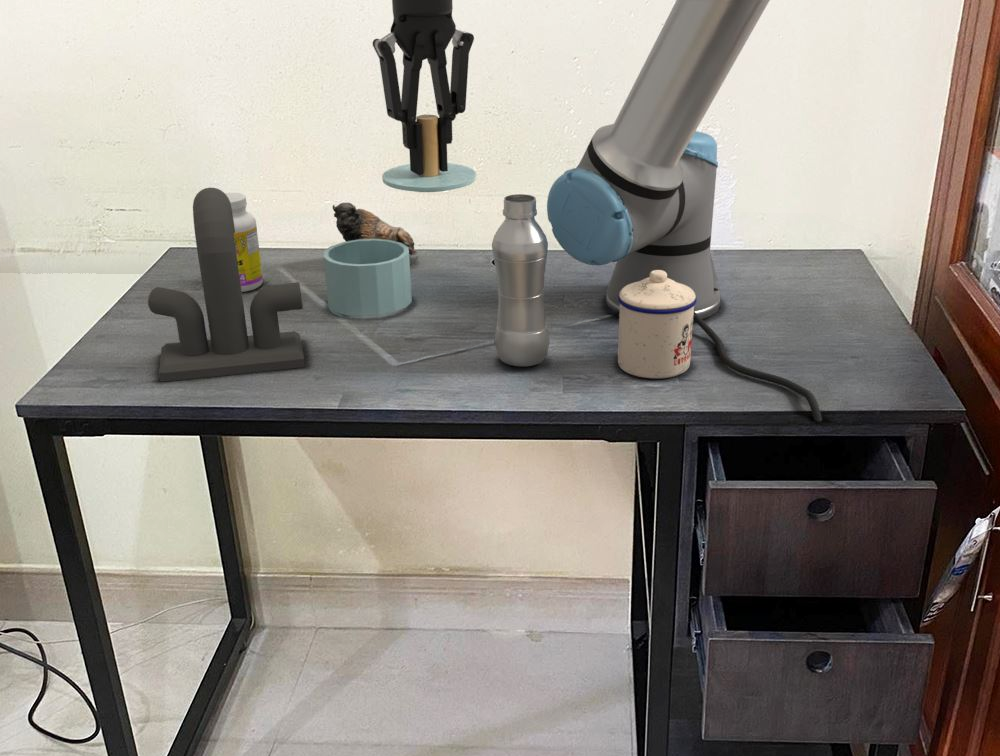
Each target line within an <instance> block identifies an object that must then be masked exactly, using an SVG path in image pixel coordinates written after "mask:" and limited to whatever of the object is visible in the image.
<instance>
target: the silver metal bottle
mask: <svg viewBox="0 0 1000 756" xmlns="http://www.w3.org/2000/svg"><path fill="white" fill-rule="evenodd" d="M502 215H503V217H504V220H503V221H502V222H501V224H500V225H499V227H497V229H496V231H495V233H494V235H493V239H492V241H491V251H492V257H493V264H494V268H495V273H496V283H497V284H496V285H497V289H498V290H497V293H498V294H497V297H498V302H497V303H498V304H497V321H496V322H497V323H496V328H495V333H494V347H495V353H496V355H497V357H498V358H499V360H500V361H501V362H502V363H504V364H506V365H509V366H513V367H514V366H515V367H531V366H536V365H539V364H541V363H543V361H544V360H545V359H546V357H547V356H548V354H549V349H550V336H549V330H548V326H547V322H546V311H545V301H544V295H545V290H544V288H545V274H546V267H547V259H548V258H547V257H548V251H549V242H548V239H547V236H546V233H545V232H544V230H543V229H542V227H541V225H539V223H538V221H536V218H535V217H537V215H538V209H537V198H536V196H534V195H530V194H523V193H519V194H518V193H517V194H509V195H507V196H505V197H503V209H502Z"/></svg>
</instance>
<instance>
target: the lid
mask: <svg viewBox="0 0 1000 756" xmlns="http://www.w3.org/2000/svg"><path fill="white" fill-rule="evenodd" d="M438 118H439V116H438V115H435V114H419V115H416V122H418V123H420V124H422V145H423V169H424V174H423V175H417V174H416V173H414V172H412V171H410V163H407V164H403V165H398V166H395V167H391V168H389V169H387V170H385V171H384V172H383V173H382V175H381V178H382V179H381V180H382V182H383V184H384V185H385V186H387V187H390V188H392V189H396V190H400V191H406V192H414V193H415V192H416V193H440V192H446V191H451V190H457V189H461V188H465V187H467V186H470V185H472V184H473V183H475V181H476V180H477V172H476V171H475V170H474V169H473V168H471V167H469V166H466V165H463V164H458V163H451V162H447V165H448V171H444V172H442V171H440V170H439V142H438Z"/></svg>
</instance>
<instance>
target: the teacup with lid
mask: <svg viewBox="0 0 1000 756" xmlns="http://www.w3.org/2000/svg"><path fill="white" fill-rule="evenodd" d="M618 301H619V303H620V314H619V315H618V317H619V318H618V344H617V345H618V346H617V348H618V349H617V363H618V364H617V365H618V366H619V368H620V369H621V370H622V371H624V372H625V373H626V374H629V375H632V376H634V377H638V378H643V379H654V380H655V379H659V380H660V379H668V378H675V377H677V376H680V375H682V374H684V373H685V372H686V371H688V369H689V368H690V365H691V356H692V340H693V327H694V326H693V325H694V322H693V314H694V305H695V304H696V301H697V299H696V295H695V293H694V291H693V290H692V289H691V288H690V287H688V286H686V285H684V284H681V283H677V282H675V281H673V280H671V279H669V278H667V273H666V272H665V271H663V270H654V271H652V272H651V273H650V277H649V278H646V279H643V280H641V281H638V282H634V283H631V284H629V285H627V286H625V287H624V288H623V289H622V290H621V291H620V293H619V296H618Z"/></svg>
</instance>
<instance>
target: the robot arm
mask: <svg viewBox="0 0 1000 756" xmlns="http://www.w3.org/2000/svg"><path fill="white" fill-rule="evenodd" d="M770 1H771V0H675V2H674V4H673V6H672V8H671V10H670V12H669V14H668V16H667V18H666V20H665V21H664V24H663V26H662V28H661V30H660V31H659V33H658V36H657V37H656V40H655V41H654V44H653V46H652V48H651V49H650V52H649V53H648V55H647V57H646V59H645V62H644V64H643V65H642V67H641V69H640V71H639V73H638V76H637V77H636V79H635V81H634V83H633V85H632V87H631V89H630V91H629V92H628V95H627V97H626V99H625V101H624V103H623V105H622V107H621V109H620V110H619V112H618V115H617V117H616V118H615V121H614V123H612V124H611V123H610V124H607V125H604V126H601V127H598V129H596V130H595V132H594V134H593V135H592V137H591V139H590V141H589V143H588V145H587V147H586V149H585V150H584V151H585V152H584V153H583V155H582V157H581V160H580V162H579V163H578V165H577V166H576V167H575V168H571V169H567V170H566V171H564V173H563V174H561V175H560V176H558V178H556V180H555V181H554V182H553V183H552V185H551V187H550V189H549V191H548V195H547V200H546V201H547V202H546V215H547V220H548V222H549V223H550V225H551V232H552V234H553V236H554V238H555V239H556V241H557V243H558V244H559V246H560V247H561V248H562V249H563V250H564V252H565V253H566V254H568V255H569V256H570V257H572V258H573V259H575V260H576V261H578V262H580V263H582V264H585V265H589V266H604V265H607V264H610V263H615V265H614V269H613V272H612V275H611V278H610V281H609V282H608V284H607V288H606V294H605V295H606V297H605V302H606V305H607V306H608V308H610V309H611V310H613V311H614V314H616V315H617V316H619V314H620V303H619V301H618V296H619V293H620V291H621V290H622V289H623V288H624V287H625V286H627V285H629V284H631V283H634V282H638V281H641V280H643V279H646V278H649V277H650V273H651V272H652V271H654V270H663V271H665V272H666V273H667V278H669V279H671V280H673V281H675V282H677V283H681V284H684V285H686V286H688V287H690V288H691V289H692V290H693V291H694V293H695V295H696V299H697V301H696V304H695V305H694V314H693V323H694V322H695V323H696V324H697V325H698V326H699V327H700V329H702V331H703V332H704V333H706V335H707V336H708V337H709V338H710V339H711V340H712V342H713V343H714V345H715V347H716V349H717V353H718V356H719V359H720V360H721V361H722V363H724V364H725V366H727V367H728V368H730V369H731V370H733V371H735V372H737V373H738V374H739V373H740V374H742V375H745V376H747V377H750V378H754V379H758V380H763V381H766V382H770V383H773V384H777V385H780V386H782V387H785V388H787V389H789V390H791V391H793V392H794V393H797V394H798V395H800V396H802V397H803V398H805V399H806V401H807V403H808V405H809V406H808V407H809V409H810V411H811V414H812V418H813V421H815V422H822V421H823V416H822V413H821V410H820V407H819V404H818V401H817V399H816V397H815V396H814V394H813V393H812V392H811V391H810V390H809V389H807V388H806V387H803V386H801V385H800V384H797V383H796V382H794V381H792V380H790V379H787V378H785V377H782V376H780V375H779V376H778V375H776V374H772V373H768V372H764V371H760V370H756V369H752V368H750V367H746V366H744V365H741V364H739V363H738V362H736V361H734V360H732V359H731V358H730V357H729V356H728V354H727V353H726V349H725V345H724V343H723V341H722V340H721V338H720V336H719V335H718V334H717V333H716V331H714V330H713V329H712V328H711V327H710V326H709V325H708V324H707V322H706V321H705V319H706V318H709V317H712V316H713V315H715V314H716V313H717V312H718V311H719V310H720V306H721V289H720V285H719V281H718V276H717V273H716V268H715V264H714V261H713V257H712V252H711V243H712V242H711V241H712V232H713V231H712V229H713V218H714V207H715V194H716V192H715V191H716V182H717V181H716V180H717V169H718V168H719V162H718V143H717V140H716V139H715V138H714V136H712V135H710V134H708V133H705V132H702V131H698V130H697V129H698V128H699V126H700V124H701V123H702V121H703V119H704V118H705V116H706V114H707V112H708V110H709V108H710V107H711V105H712V103H713V101H714V100H715V98H716V96H717V94H718V92H719V91H720V89H721V87H722V85H723V84H724V82H725V80H726V78H727V76H728V75H729V73H730V72H731V70H732V68H733V66H734V64H735V62H736V61H737V59H738V57H739V55H740V54H741V52H742V50H743V48H744V46H745V45H746V43H747V42H748V40H749V38H750V37H751V34H752V33H753V31H754V29H755V27H756V25H757V24H758V22H759V21H760V18H761V17H762V15H763V13H764V11H765V9H766V8H767V6H768V5H769V3H770ZM391 6H392V16H393V20H392V24H391V26H390V32H389V33H388V34H386V35H384V36H383V37H381V38H375V39H373V41H372V48H373V49H374V52H375V53H376V55H377V57H378V60H379V65H380V66H379V67H380V74H381V81H382V87H383V95H384V101H385V108H386V109H385V110H386V114H387V116H388V117H389V118H391V119H393V120H395V121H397V122H400V123H401V131H402V145H403V146H404V148H405V149H408V151H409V164H410V171H412V172H414V173H416V174H417V175H423V174H424V169H423V145H422V124H420V123H418V122H416V117H417V111H418V100H419V90H420V89H419V87H420V76H421V69H422V68H423V61H425V60H427V63H428V65H429V69H430V75H431V76H430V77H431V81H432V87H433V94H434V101H435V107H436V111H437V112H436V113H437V116H438V142H439V170H440V171H442V172H444V171H448V165H447V163H448V145H450V144H452V142H453V121H455V120H456V117H457V115H458V114H463V113H465V111H466V109H467V88H468V74H469V57H470V51H471V49H472V46H473V44H474V41H475V36H474V34H473V33H472V32H471V33H470V32H467V31H465V30H461V29H460V28H457V24H456V23H455V21H454V18H453V9H454V8H453V0H391ZM450 42H451V43H452V44H451V45H452V46H453V47H452V53H451V56H452V57H451V72H450V85H449V75H448V71H447V64H448V60H447V54H446V50H447V48H448V46H449V45H450ZM396 44H397V46H398V47H399V49H400V50H401V51H402V65H403V71H402V85H401V86H402V87H401V92H400V83H399V77H398V69H397V62H396V58H395V55H394V54H395V52H396V46H395V45H396Z"/></svg>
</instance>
